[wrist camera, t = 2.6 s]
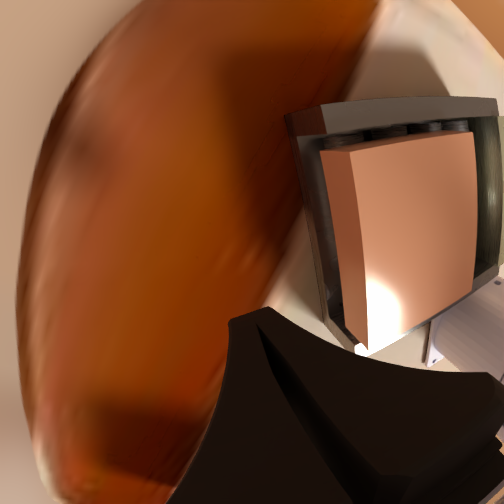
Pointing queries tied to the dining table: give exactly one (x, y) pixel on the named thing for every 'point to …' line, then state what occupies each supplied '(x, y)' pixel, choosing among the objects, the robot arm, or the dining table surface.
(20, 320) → the dining table surface
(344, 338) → the roller bed
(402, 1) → the dining table surface
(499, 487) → the robot arm
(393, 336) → the slab
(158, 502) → the dining table surface
